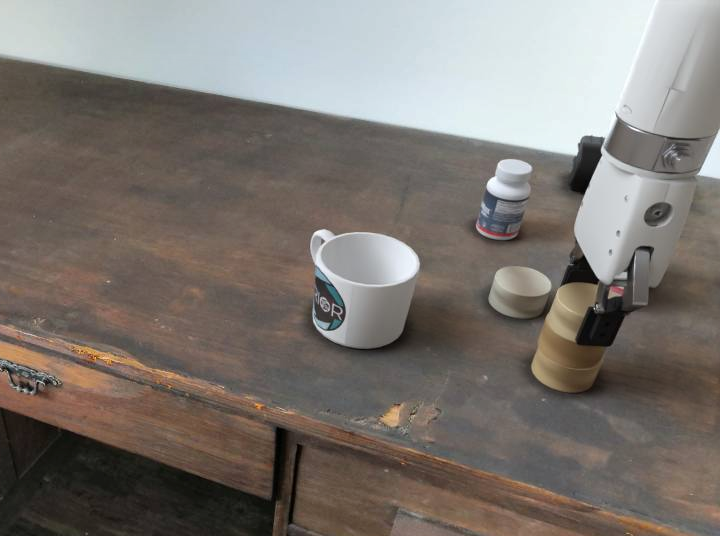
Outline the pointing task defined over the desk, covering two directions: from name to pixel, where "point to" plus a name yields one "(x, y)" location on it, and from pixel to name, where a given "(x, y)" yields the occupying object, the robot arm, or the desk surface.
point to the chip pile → (565, 362)
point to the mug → (362, 287)
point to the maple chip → (572, 308)
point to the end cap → (585, 162)
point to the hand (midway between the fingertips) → (582, 320)
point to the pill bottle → (505, 200)
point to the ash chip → (519, 292)
